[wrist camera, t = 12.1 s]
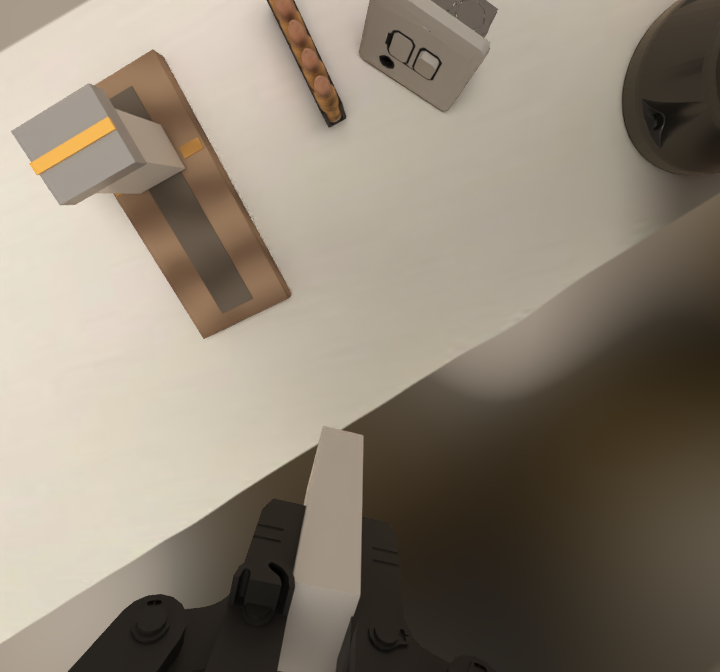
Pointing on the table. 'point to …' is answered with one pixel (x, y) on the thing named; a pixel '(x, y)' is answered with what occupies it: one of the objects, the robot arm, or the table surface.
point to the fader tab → (96, 148)
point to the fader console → (194, 210)
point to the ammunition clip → (308, 60)
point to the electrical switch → (428, 44)
